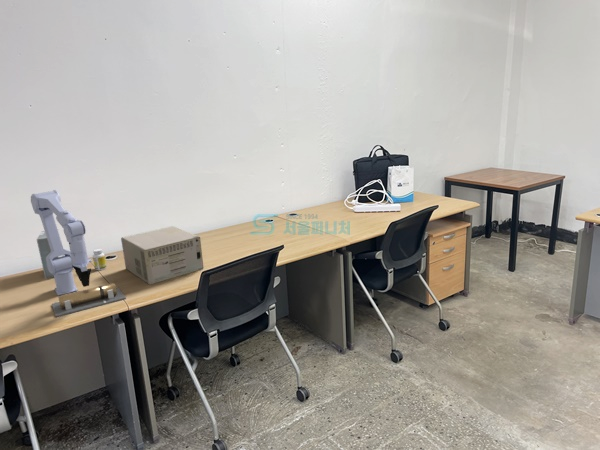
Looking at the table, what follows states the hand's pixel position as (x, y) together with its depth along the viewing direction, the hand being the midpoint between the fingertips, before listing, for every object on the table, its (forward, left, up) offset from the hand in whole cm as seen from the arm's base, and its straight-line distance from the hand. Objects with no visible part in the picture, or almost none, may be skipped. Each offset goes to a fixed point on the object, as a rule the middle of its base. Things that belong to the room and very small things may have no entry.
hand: (84, 283), depth 182 cm
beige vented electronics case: (-18, +37, -9) cm, 42 cm away
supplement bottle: (-40, +12, -9) cm, 43 cm away
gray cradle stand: (0, 0, -8) cm, 8 cm away
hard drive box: (-50, -7, -9) cm, 51 cm away
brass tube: (0, +1, -8) cm, 8 cm away
